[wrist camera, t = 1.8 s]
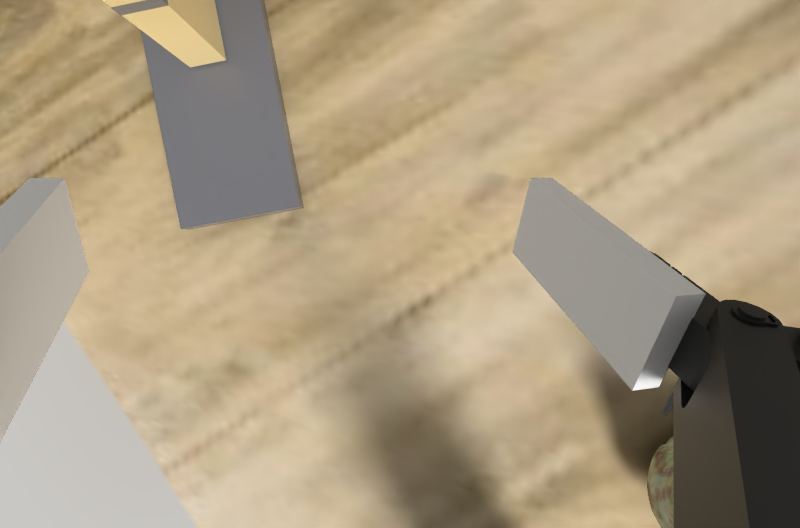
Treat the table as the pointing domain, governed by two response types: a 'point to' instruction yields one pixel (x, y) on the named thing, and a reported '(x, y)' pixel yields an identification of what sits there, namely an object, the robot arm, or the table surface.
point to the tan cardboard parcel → (178, 27)
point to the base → (226, 124)
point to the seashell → (662, 485)
